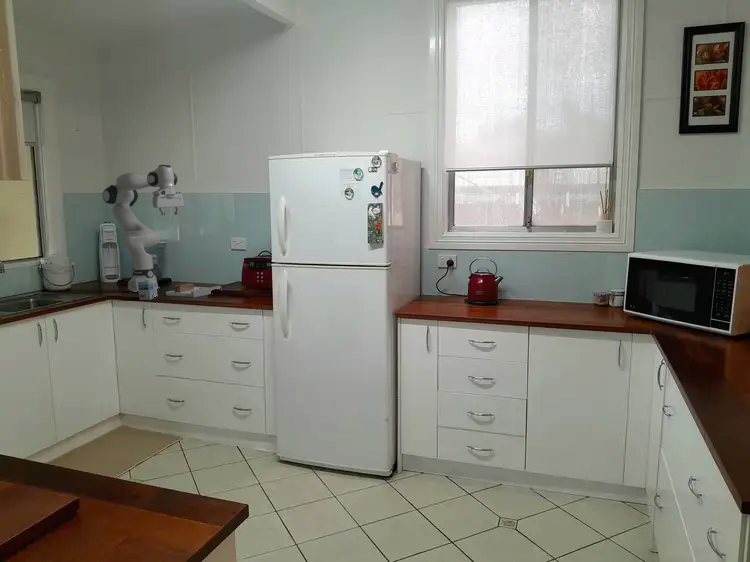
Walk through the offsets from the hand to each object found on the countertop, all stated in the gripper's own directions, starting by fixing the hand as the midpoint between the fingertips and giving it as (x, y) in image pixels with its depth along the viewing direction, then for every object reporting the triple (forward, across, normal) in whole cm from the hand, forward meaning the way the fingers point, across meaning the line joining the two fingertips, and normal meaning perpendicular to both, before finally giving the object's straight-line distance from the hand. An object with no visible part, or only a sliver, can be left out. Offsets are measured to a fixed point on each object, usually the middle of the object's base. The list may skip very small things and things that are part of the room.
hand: (169, 215), depth 348 cm
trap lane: (+48, -2, +13) cm, 50 cm away
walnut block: (+46, +2, +9) cm, 47 cm away
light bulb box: (+48, +20, -1) cm, 52 cm away
